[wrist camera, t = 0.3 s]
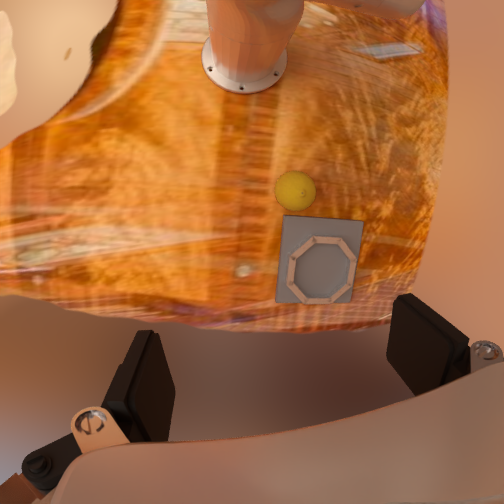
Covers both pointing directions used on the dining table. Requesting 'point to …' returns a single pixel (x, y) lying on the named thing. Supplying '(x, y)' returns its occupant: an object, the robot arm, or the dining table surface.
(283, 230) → the board
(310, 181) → the lemon
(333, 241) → the ring
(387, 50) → the dining table surface
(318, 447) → the robot arm
